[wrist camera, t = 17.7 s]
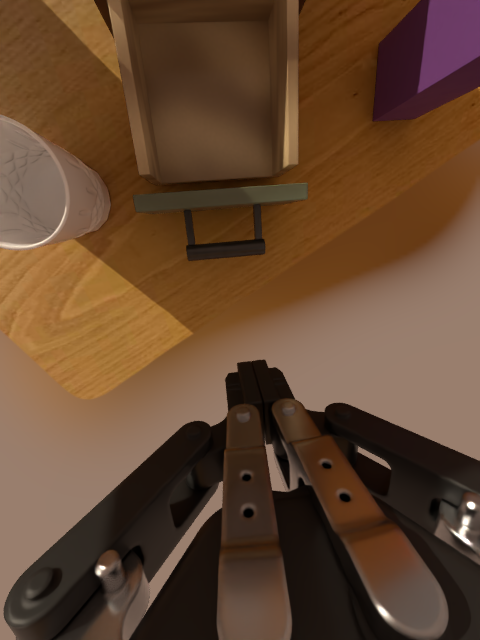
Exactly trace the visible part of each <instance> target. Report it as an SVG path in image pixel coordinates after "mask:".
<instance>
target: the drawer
mask: <svg viewBox="0 0 480 640" xmlns="http://www.w3.org/2000/svg"><path fill="white" fill-rule="evenodd" d="M107 1H108V7H109V12H110V18H111V23H112V29H113V34H114V40H115V45H116V51H117V56H118V62H119V67H120V73H121V78H122V83H123V89H124V94H125V100H126V105H127V111H128V116H129V122H130V127H131V133H132V138H133V144H134V149H135V155H136V160H137V166H138V171H139V175H140V176H142V177H143V178H145V179H146V180H148V181H149V182H151V183H152V184H154V185H167V184H182V183H197V182H211V181H226V180H240V179H255V178H269V177H279V176H281V175H282V174H284V173H285V172H287V171H289V170H290V169H292V168H293V167H295V166H297V165H298V36H299V0H107ZM306 199H308V183H295V184H281V185H267V186H253V187H239V188H225V189H211V190H196V191H182V192H168V193H154V194H140V195H133V200H134V205H135V210H136V212H139V213H148V214H163V213H176V212H184V216H185V224H186V231H187V238H188V245H187V246H186V250H187V257H188V261H196V260H207V259H219V258H230V257H241V256H252V255H263V254H265V241H264V239H262V226H261V206H267V205H280V204H288V203H293V202H297V201H302V200H306ZM241 207H253V217H254V236H255V239H254V240H242V241H230V242H219V243H207V244H195V236H194V229H193V221H192V213H191V211H202V210H215V209H228V208H241Z"/></svg>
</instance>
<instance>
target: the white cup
mask: <svg viewBox="0 0 480 640" xmlns="http://www.w3.org/2000/svg"><path fill="white" fill-rule="evenodd" d="M110 207H111V203H110V197H109V192H108V188H107V186H106V185H105V183H104V182H103V180H102V179H101V177H100V176H99V174H98V173H97V172H96V171H94V170H93V169H92V168H90V167H89V166H87V165H86V164H84V163H83V162H82V161H81V160H80V159H78V158H77V157H75V156H74V155H72V154H71V153H69V152H68V151H66V150H65V149H63V148H61V147H60V146H58V145H56V144H55V143H53V142H51V141H49V140H48V139H46V138H44V137H43V136H41V135H39V134H38V133H36V132H34V131H33V130H31V129H29V128H28V127H26V126H24V125H23V124H21V123H19V122H17V121H15V120H13V119H11V118H9V117H6V116H3V115H0V248H4V249H9V250H30V249H34V248H38V247H42V246H47V245H51V244H55V243H60V242H64V241H67V240H71V239H74V238H77V237H81V236H83V235H84V234H87V233H91V232H94V231H97V230H98V229H99V228H100V227H101V226H102V225H103V224H104V223H105V222H106V221H107V219H108V215H109V211H110Z"/></svg>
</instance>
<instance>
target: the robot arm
mask: <svg viewBox="0 0 480 640" xmlns="http://www.w3.org/2000/svg"><path fill="white" fill-rule="evenodd" d="M237 366H238V372H234V373H229V374H228V375H227V377H226V379H225V382H226V391H227V402H228V413H227V417H226V418H225V419H224V420H223V421H222V422H220V423H218V424H216V425H214V426H212V427H210V425H209V424H207V423H205V422H203V421H194V422H190V423H187V424H185V425H184V426H182V427H181V428H180V429H179V430H178V431H177V432H176V433H175V434H174V435H172V436H171V437H170V438H169V439H168V440H167V441H166V442H165V443H164V444H163V445H162V446H161V447H159V448H158V449H157V450H156V451H155V452H154V453H153V454H152V455H151V456H150V457H149V458H147V460H146V461H144V462H143V463H142V464H141V465H140V466H139V467H138V468H137V469H136V470H134V471H133V472H132V473H131V474H130V475H129V476H128V477H127V478H126V479H125V480H124V481H122V482H121V483H120V485H118V486H117V487H116V488H115V489H114V490H113V491H112V492H111V493H110V494H108V495H107V496H106V497H105V498H104V499H103V500H102V501H101V502H100V503H99V504H98V505H96V506H95V507H94V508H93V509H92V510H91V511H90V512H89V513H88V514H87V515H86V516H84V517H83V518H82V519H81V520H80V521H79V522H78V523H77V524H76V525H75V526H74V527H73V528H72V529H70V530H69V531H68V532H67V533H66V534H65V535H64V536H63V537H62V538H61V539H60V540H58V541H57V543H55V544H54V545H53V546H52V547H51V548H50V549H49V550H48V551H46V552H45V553H44V554H43V555H42V556H41V557H40V558H39V559H38V560H37V561H36V562H34V563H33V564H32V565H31V566H30V567H29V568H28V569H27V570H26V571H25V572H24V573H23V574H22V575H21V576H20V577H19V579H18V580H17V581H16V583H15V584H14V586H13V587H12V589H11V591H10V592H9V595H8V597H7V600H6V602H5V606H4V618H5V620H6V622H7V624H8V625H9V627H10V628H11V630H12V631H13V633H14V634H15V636H16V640H480V461H478V460H476V459H474V458H471V457H469V456H467V455H464V454H462V453H460V452H457V451H455V450H453V449H450V448H448V447H445V446H443V445H441V444H439V443H437V442H434V441H432V440H430V439H427V438H425V437H423V436H420V435H418V434H416V433H413V432H411V431H408V430H406V429H404V428H402V427H399V426H397V425H395V424H392V423H390V422H388V421H385V420H383V419H381V418H378V417H376V416H374V415H371V414H369V413H367V412H364V411H362V410H360V409H358V408H355V407H353V406H351V405H348V404H345V403H333V404H330V405H328V406H327V407H326V408H325V412H316V411H310V410H307V409H305V407H304V406H303V404H302V403H301V402H299V401H297V400H295V398H294V396H293V394H292V392H291V390H290V387H289V385H288V384H287V381H286V379H285V377H284V375H283V373H282V372H281V371H280V370H279V369H277V368H268V366H267V363H266V361H265V360H256V361H252V362H251V361H248V362H240V363H237ZM265 441H266V444H272V445H273V448H274V460H275V463H276V466H277V468H278V471H279V474H280V476H281V479H282V482H283V484H284V487H285V490H286V492H281V491H272V487H271V481H270V474H269V467H268V461H267V454H266V447H265V446H264V445H265ZM358 446H359V447H361V448H363V449H365V450H367V451H368V452H370V453H372V454H374V455H376V456H378V457H380V458H382V459H383V460H385V461H386V462H387V463H388V464H389V466H390V467H391V470H390V469H388V468H386V467H384V466H383V465H381V464H379V463H377V462H375V461H373V460H372V459H369V458H368V457H366V456H364V455H362V454H361V453H359V452H358ZM221 481H223V504H222V508H221V509H219V510H218V511H217V512H215V513H214V514H213V515H212V516H211V517H210V518H209V519H208V520H207V521H206V522H205V523H204V524H203V526H202V527H201V528H200V530H199V532H198V533H197V534H196V536H195V538H194V539H193V541H192V542H191V544H190V545H189V547H188V548H187V550H186V552H185V553H184V555H183V556H182V558H181V559H180V561H179V562H178V564H177V565H176V567H175V569H174V570H173V572H172V573H171V575H170V577H169V578H168V580H167V581H166V583H165V584H164V586H163V587H162V589H161V590H160V592H159V593H158V595H157V597H156V598H155V600H154V601H153V603H152V605H151V606H150V607H149V609H148V610H147V612H146V609H147V606H148V603H149V598H150V589H149V582H150V581H151V580H152V578H153V577H154V576H155V574H156V573H157V571H158V570H159V568H160V567H161V566H162V565H163V563H164V562H165V560H166V559H167V558H168V556H169V555H170V554H171V552H172V551H173V549H174V548H175V547H176V545H177V544H178V542H179V541H180V540H181V538H182V537H183V536H184V534H185V533H186V531H187V530H188V529H189V527H190V526H191V525H192V523H193V522H194V520H195V519H196V518H197V516H198V515H199V513H200V512H201V511H202V509H203V508H204V507H205V505H206V504H207V502H208V501H209V500H210V498H211V497H212V496H213V494H214V493H215V492H216V489H217V488H218V485H219V482H221ZM145 612H146V614H145ZM144 614H145V615H144ZM143 616H144V617H143Z"/></svg>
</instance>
